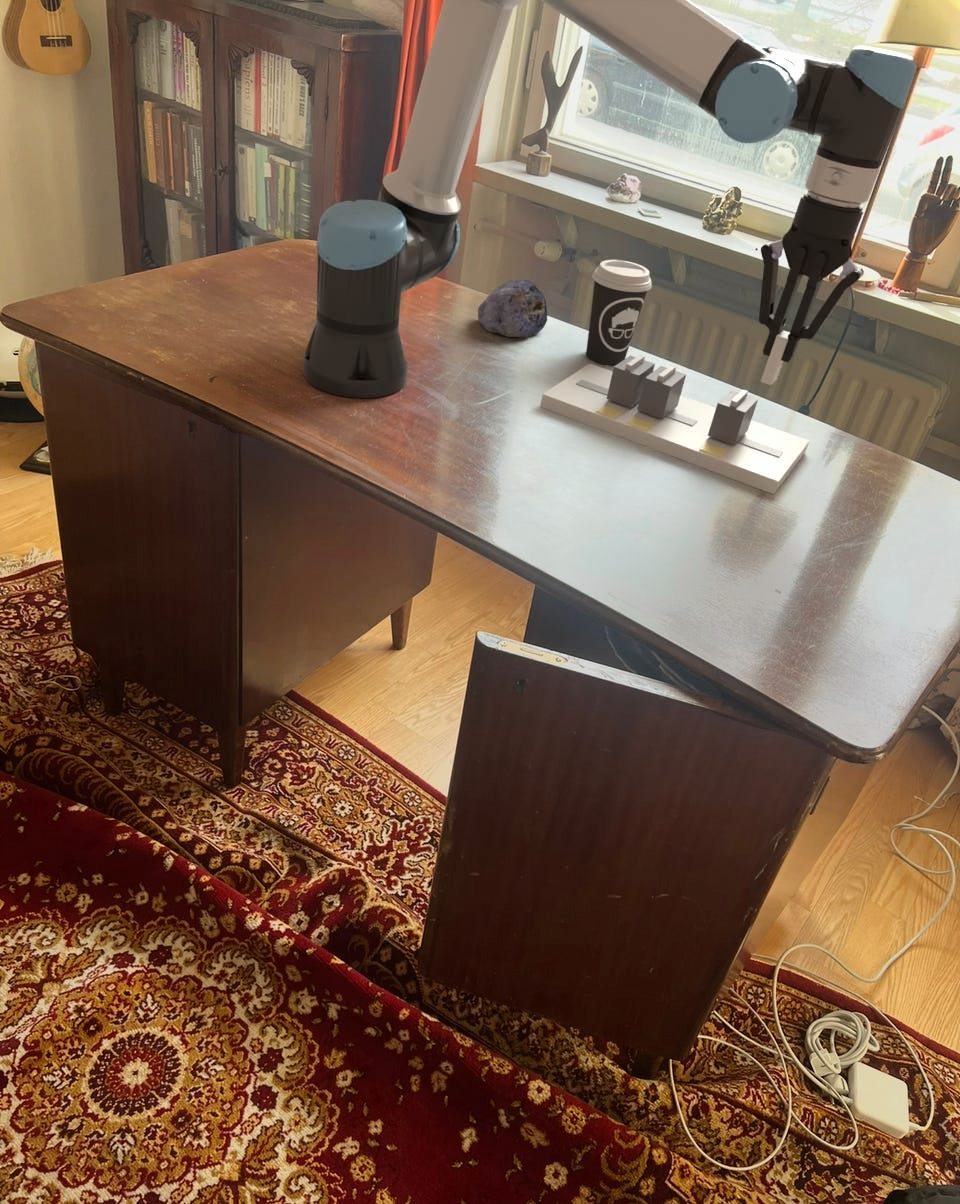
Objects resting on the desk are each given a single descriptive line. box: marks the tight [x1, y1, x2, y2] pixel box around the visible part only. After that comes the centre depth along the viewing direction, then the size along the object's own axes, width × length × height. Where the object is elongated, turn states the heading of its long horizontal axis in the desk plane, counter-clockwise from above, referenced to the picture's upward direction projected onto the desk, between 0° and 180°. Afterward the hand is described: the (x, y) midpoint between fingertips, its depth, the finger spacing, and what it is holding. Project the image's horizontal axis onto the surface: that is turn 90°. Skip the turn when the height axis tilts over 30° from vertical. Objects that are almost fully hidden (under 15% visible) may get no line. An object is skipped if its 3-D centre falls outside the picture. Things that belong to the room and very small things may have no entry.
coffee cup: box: [585, 259, 653, 367], centre depth 150 cm, size 10×10×15 cm
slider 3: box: [708, 389, 759, 445], centre depth 130 cm, size 4×6×6 cm, turn 149°
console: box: [540, 363, 810, 495], centre depth 135 cm, size 36×16×2 cm, turn 59°
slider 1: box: [607, 354, 656, 408], centre depth 135 cm, size 4×6×6 cm, turn 149°
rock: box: [477, 279, 548, 338], centre depth 158 cm, size 11×10×10 cm
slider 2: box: [637, 364, 687, 419], centre depth 134 cm, size 4×6×6 cm, turn 149°
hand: (768, 380), depth 125 cm, fingers closed
